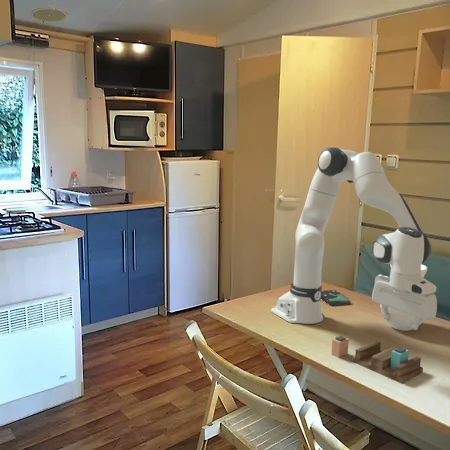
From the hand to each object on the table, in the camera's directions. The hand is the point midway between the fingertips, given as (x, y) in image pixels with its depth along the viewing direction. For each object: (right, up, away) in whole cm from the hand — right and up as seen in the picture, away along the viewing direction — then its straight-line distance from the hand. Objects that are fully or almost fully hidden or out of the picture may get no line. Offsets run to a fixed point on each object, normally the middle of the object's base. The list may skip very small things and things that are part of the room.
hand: (400, 323), depth 146 cm
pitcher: (+16, -10, +41) cm, 45 cm away
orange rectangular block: (-15, -14, +15) cm, 25 cm away
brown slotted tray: (-2, -15, +6) cm, 17 cm away
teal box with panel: (+1, -14, +3) cm, 15 cm away
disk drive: (-5, -5, +71) cm, 72 cm away
